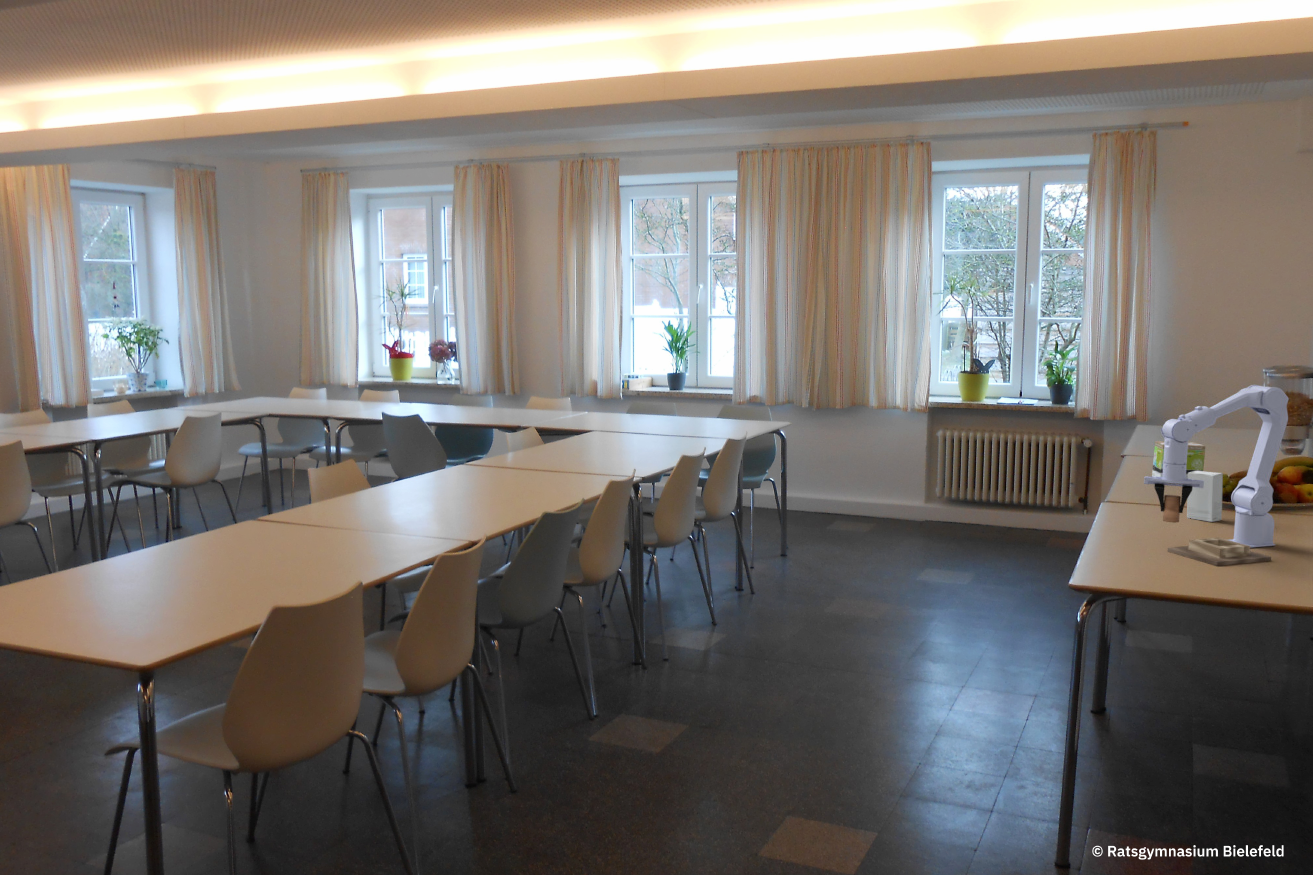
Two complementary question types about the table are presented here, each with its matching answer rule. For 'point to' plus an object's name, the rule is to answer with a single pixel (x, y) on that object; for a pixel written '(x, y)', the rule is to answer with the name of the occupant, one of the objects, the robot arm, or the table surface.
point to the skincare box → (1205, 497)
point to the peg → (1171, 508)
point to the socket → (1219, 552)
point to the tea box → (1193, 458)
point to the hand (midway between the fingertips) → (1171, 511)
